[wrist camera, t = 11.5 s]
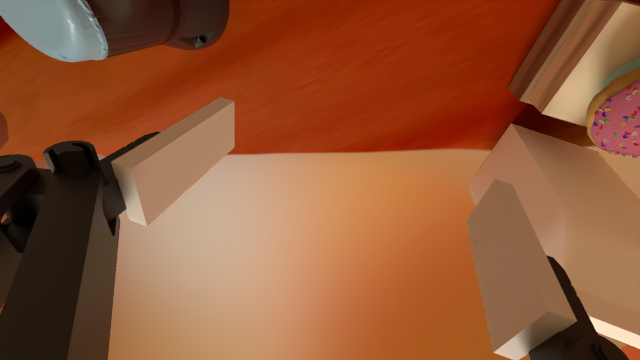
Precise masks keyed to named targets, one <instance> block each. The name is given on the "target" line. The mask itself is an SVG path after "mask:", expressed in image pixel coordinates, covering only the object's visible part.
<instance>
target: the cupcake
mask: <svg viewBox="0 0 640 360" xmlns="http://www.w3.org/2000/svg"><path fill="white" fill-rule="evenodd" d="M586 125H587V134H588V136H589V137H590V139H591V140H592V142H593V143H594V144H595V145H596V146H597V147H599V148H600V149H603V150H605V151H608V152H609V153H611V152H613V153H614V154H617V155H618V154H622V155H624V156H625V155H632V157H634V156H635V157H637V156H640V58H639V59H636V60H634V61H631V62H629V63H627V64H625V65H623V66H621V67H620V68H618V69H617V70H616V71H614V72H613V73H612V74H611V75H610V76H609V77H608V78H607V80H606V81H605V83H604V85H603V88H602V90H601V91H600V92H599V93H598V94H596V95H595V96H594V97H593V99H592V100H591V102H590V104H589V106H588V109H587V114H586Z"/></svg>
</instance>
